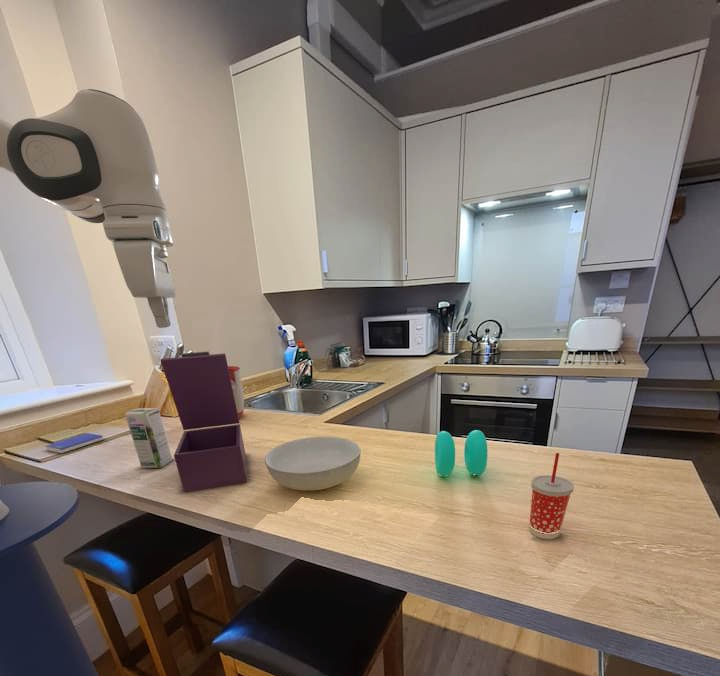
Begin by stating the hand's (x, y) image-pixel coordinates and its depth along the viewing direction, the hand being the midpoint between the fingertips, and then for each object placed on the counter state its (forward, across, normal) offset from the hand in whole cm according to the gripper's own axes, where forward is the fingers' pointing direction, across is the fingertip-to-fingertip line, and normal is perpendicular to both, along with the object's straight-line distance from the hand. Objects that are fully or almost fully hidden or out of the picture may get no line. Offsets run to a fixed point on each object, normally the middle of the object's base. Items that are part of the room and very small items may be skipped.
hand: (164, 327), depth 67 cm
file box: (+34, -16, +1) cm, 37 cm away
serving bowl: (+34, -2, +23) cm, 41 cm away
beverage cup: (+34, +33, +56) cm, 73 cm away
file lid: (+16, -21, +1) cm, 26 cm away
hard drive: (+34, -56, -43) cm, 78 cm away
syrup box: (+34, -28, -14) cm, 46 cm away
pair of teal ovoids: (+34, +7, +54) cm, 64 cm away
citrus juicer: (+34, -65, +2) cm, 73 cm away
